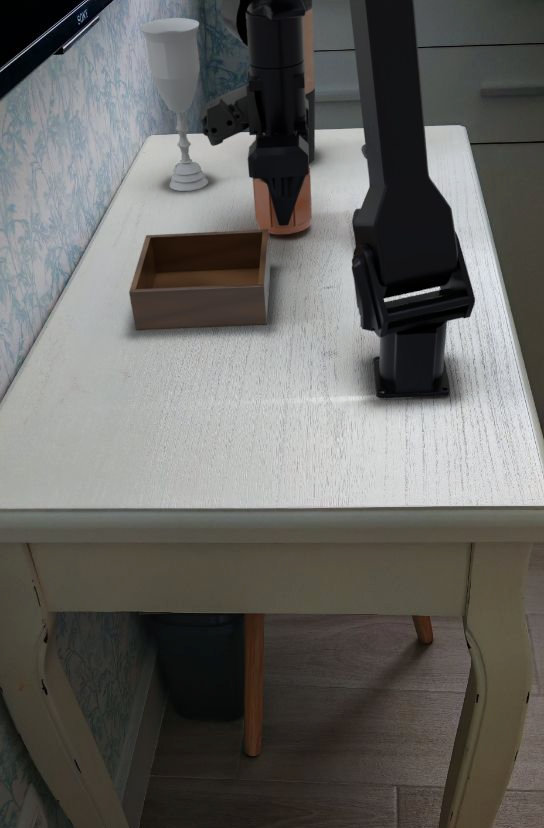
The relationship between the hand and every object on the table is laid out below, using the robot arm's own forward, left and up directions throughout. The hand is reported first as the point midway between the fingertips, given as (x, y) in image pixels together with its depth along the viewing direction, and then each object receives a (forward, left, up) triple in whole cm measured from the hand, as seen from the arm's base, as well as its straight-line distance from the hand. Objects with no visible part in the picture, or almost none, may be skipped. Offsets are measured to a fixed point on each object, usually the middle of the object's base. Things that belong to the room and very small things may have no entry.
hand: (284, 213), depth 105 cm
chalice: (+17, +13, -3) cm, 22 cm away
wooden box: (-16, +8, -2) cm, 18 cm away
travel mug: (+24, 0, -2) cm, 24 cm away
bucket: (0, 0, -1) cm, 1 cm away
